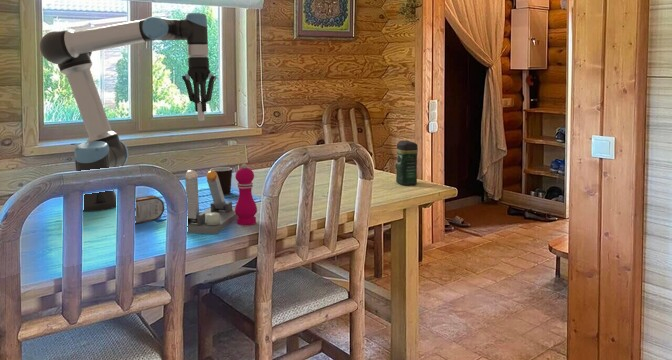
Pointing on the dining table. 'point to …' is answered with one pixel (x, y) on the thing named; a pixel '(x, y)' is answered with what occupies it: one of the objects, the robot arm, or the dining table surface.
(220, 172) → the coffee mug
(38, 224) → the dining table surface
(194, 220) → the toggle lever ivory
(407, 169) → the coffee jar
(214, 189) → the toggle lever orange
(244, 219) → the pepper mill
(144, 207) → the tin
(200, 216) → the switch panel
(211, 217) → the push button
